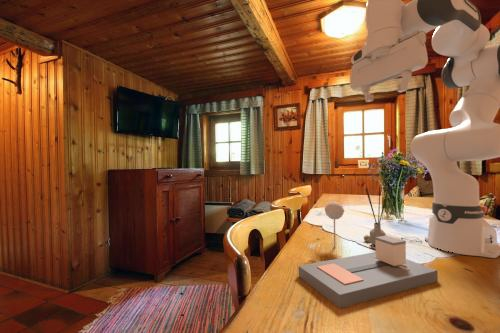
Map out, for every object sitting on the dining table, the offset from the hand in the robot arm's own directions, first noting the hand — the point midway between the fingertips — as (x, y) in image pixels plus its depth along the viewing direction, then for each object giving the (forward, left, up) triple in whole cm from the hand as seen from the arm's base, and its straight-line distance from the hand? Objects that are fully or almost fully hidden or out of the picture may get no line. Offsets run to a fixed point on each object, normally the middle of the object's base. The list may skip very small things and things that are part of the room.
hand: (384, 96), depth 64 cm
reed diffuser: (-9, -12, -46) cm, 49 cm away
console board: (+13, +5, -46) cm, 48 cm away
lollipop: (+4, -16, -46) cm, 49 cm away
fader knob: (+5, +5, -43) cm, 43 cm away
